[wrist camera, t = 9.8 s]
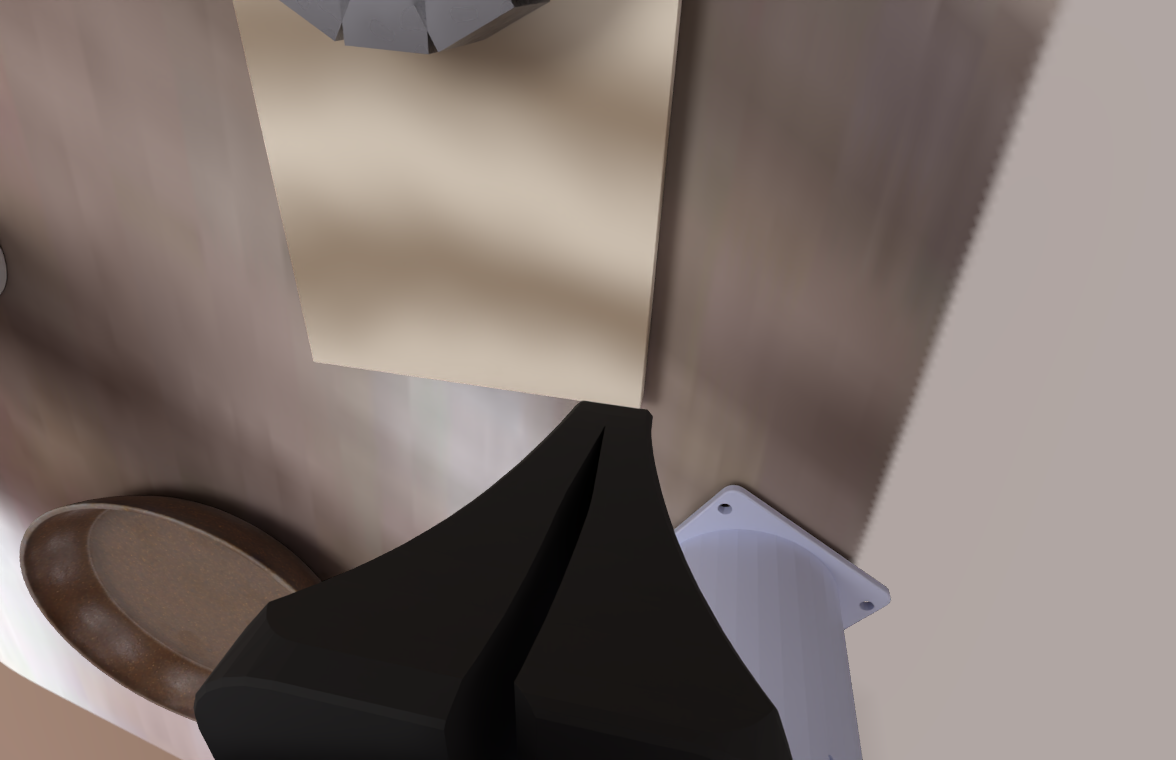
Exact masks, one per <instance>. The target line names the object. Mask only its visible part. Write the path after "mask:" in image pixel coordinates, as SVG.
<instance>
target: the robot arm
mask: <svg viewBox="0 0 1176 760" xmlns="http://www.w3.org/2000/svg"><path fill="white" fill-rule="evenodd" d="M652 419H653V416H652V415H651V413H650V412H649V411H648V410H645V409H638V408H632V407H625V406H618V405H611V404H604V403H597V402H591V401H584V400H583V401H581V402H580V403H578V404H577V405H576V406H575V407H574V408H573V409H572V411H571V412H570V413H569V414H568V415H567V416H566V417H565V418H564V419H563V420H562V422H561V423H560V424H559V425H558V426H557V427H556V428H555V429H554V430H553V431H552V432H551V433H550V434H549V435H548V436H547V437H546V438H545V439H544V440H543V441H542V442H541V443H540V444H539V445H538V446H537V447H536V448H535V449H534V450H533V451H532V452H530V453H529V454H528V455H527V456H526V457H525V458H524V459H523V460H522V461H521V462H520V463H519V464H518V465H516V466H515V467H514V468H513V469H512V470H510V471H509V472H508V473H507V474H506V475H504V476H503V477H502V478H501V479H500V480H498V481H497V482H496V483H495V484H494V485H492V486H491V487H490V488H489V489H487V490H486V491H485V492H484V493H482V494H481V495H480V496H478V497H477V498H476V499H474V500H473V501H472V502H470V503H469V504H467V505H466V506H464V507H463V508H462V509H460V510H459V511H457V512H456V513H454V514H453V515H451V516H450V517H448V518H447V519H445V520H444V521H442V522H440V523H439V524H437V525H436V526H434V527H432V528H431V529H429V530H427V531H426V532H424V533H422V534H420V535H419V536H417V537H415V538H413V539H412V540H410V541H408V542H407V543H405V544H403V545H401V546H399V547H397V548H395V549H393V550H391V551H389V552H387V553H385V554H383V555H381V556H379V557H377V558H375V559H373V560H371V561H369V562H367V563H365V564H362V565H360V566H358V567H356V568H354V569H352V570H349V571H347V572H345V573H342V574H340V575H338V576H335V577H333V578H331V579H328V580H325V581H323V582H320V583H318V584H315V585H312V586H310V587H307V588H305V589H302V590H299V591H297V592H294V593H292V594H289V595H286V596H284V597H281V598H278V599H275V600H272V601H270V602H268V603H267V604H266V606H265V607H264V608H263V609H262V610H261V611H260V612H259V614H258V615H257V616H256V617H255V618H254V619H253V620H252V621H251V622H250V623H249V625H248V626H247V627H246V628H245V629H244V631H243V632H242V633H241V635H240V636H239V637H238V638H237V640H236V641H235V642H234V644H233V645H232V646H231V648H230V649H229V650H228V652H227V653H226V654H225V656H224V657H223V658H222V660H221V661H220V662H219V664H218V665H217V666H216V668H215V669H214V670H213V672H212V673H211V674H210V676H209V677H208V678H207V679H206V681H205V682H204V683H203V685H202V686H201V687H200V689H199V690H198V691H197V693H196V694H195V700H194V707H193V708H194V714H195V718H196V721H197V724H198V727H199V730H200V732H201V734H202V736H203V738H204V739H205V741H206V743H207V745H208V747H209V749H210V751H211V753H212V755H213V757H214V759H215V760H863V759H862V753H861V746H860V739H859V732H858V725H857V718H856V711H855V704H854V698H853V690H852V684H851V677H850V670H849V663H848V656H847V649H846V642H845V636H844V630H845V629H846V628H848V627H850V626H852V625H853V624H855V623H857V622H859V621H860V620H862V619H863V618H866V617H867V616H869V615H871V614H872V613H874V612H876V611H878V610H879V609H881V608H883V607H885V606H886V605H888V604H889V603H890V600H891V598H890V593H889V590H888V588H887V587H886V586H884V585H883V584H881V583H880V582H878V581H877V580H875V579H874V578H872V577H871V576H870V575H868V574H867V573H865V572H864V571H863V570H861V569H859V568H858V567H857V566H855V565H854V564H852V563H851V562H850V561H848V560H847V559H845V558H844V557H842V556H841V555H839V554H838V553H837V552H835V551H834V550H832V549H831V548H829V547H828V546H827V545H825V544H824V543H822V542H821V541H819V540H818V539H816V538H815V537H814V536H812V535H811V534H809V533H808V532H806V531H805V530H803V529H802V528H801V527H799V526H798V525H796V524H795V523H793V522H792V521H790V520H789V519H788V518H786V517H785V516H783V515H782V514H780V513H779V512H778V511H776V510H775V509H773V508H772V507H770V506H769V505H767V504H766V503H765V502H763V501H762V500H760V499H759V498H757V497H756V496H754V495H753V494H752V493H750V492H749V491H747V490H746V489H744V488H743V487H741V486H738V485H729V486H726V487H725V488H723V489H722V490H721V491H720V492H718V493H717V494H716V495H715V496H714V497H712V498H711V499H710V500H709V501H708V502H706V503H705V504H704V505H703V506H702V507H700V508H699V509H698V510H697V511H696V512H694V513H693V514H692V515H691V516H690V517H688V518H687V519H686V520H685V521H684V522H682V523H681V524H680V525H679V526H678V527H676V528H675V529H673V526H672V524H671V521H670V518H669V515H668V511H667V508H666V505H665V502H664V499H663V495H662V492H661V488H660V483H659V479H658V475H657V471H656V467H655V461H654V456H653V448H652V439H651V428H652ZM721 504H728V505H730V506H729V507H723V506H720V505H721ZM864 601H869V602H864Z"/></svg>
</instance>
